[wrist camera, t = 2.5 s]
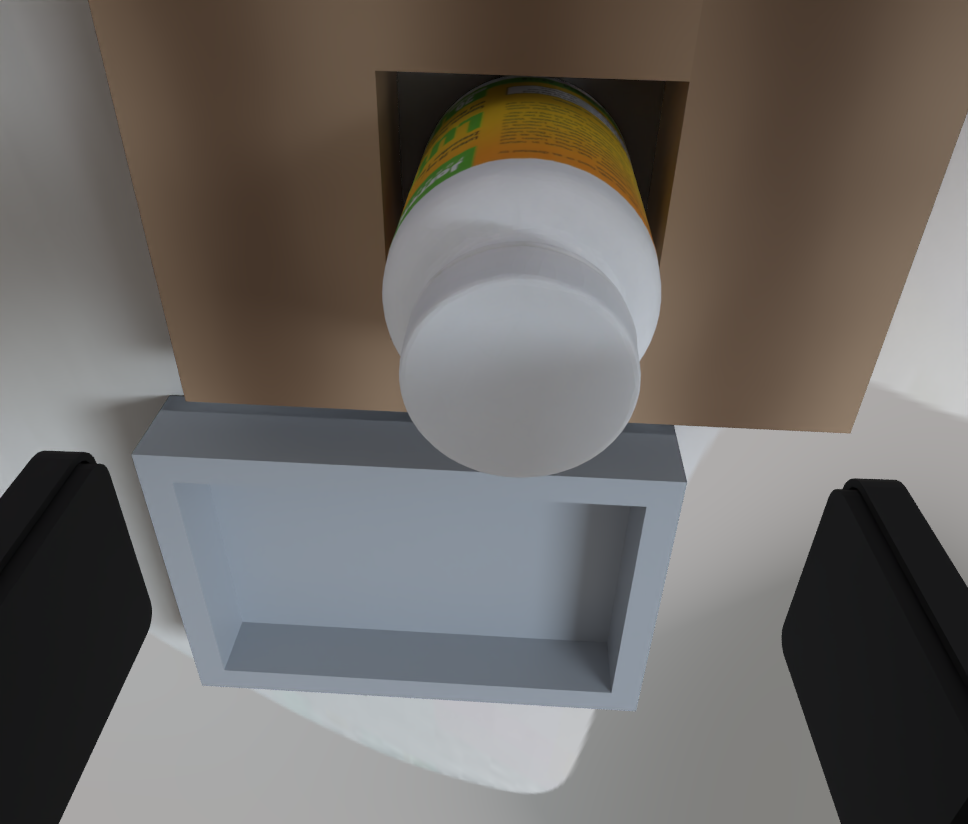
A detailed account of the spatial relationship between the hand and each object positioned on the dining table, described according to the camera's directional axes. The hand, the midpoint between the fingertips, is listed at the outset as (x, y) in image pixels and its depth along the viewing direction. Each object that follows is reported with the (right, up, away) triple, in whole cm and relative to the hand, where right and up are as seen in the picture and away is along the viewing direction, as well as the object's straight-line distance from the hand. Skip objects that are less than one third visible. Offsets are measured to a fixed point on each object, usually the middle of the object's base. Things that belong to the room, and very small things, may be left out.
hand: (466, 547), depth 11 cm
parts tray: (-2, -2, +18) cm, 18 cm away
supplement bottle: (+1, +8, +10) cm, 13 cm away
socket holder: (+1, +8, +10) cm, 13 cm away
